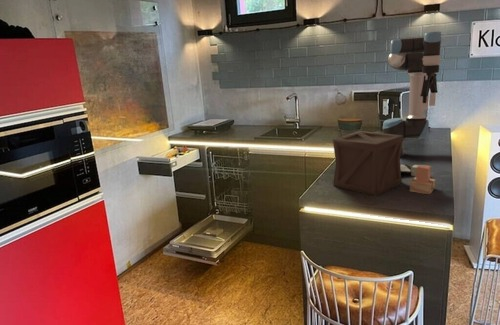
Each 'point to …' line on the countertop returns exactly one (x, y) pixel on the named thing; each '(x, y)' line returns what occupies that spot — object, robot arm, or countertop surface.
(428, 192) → the oak block
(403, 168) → the empty snack wrapper
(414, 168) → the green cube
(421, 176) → the terracotta block
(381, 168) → the wooden crate
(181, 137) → the countertop surface
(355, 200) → the countertop surface
